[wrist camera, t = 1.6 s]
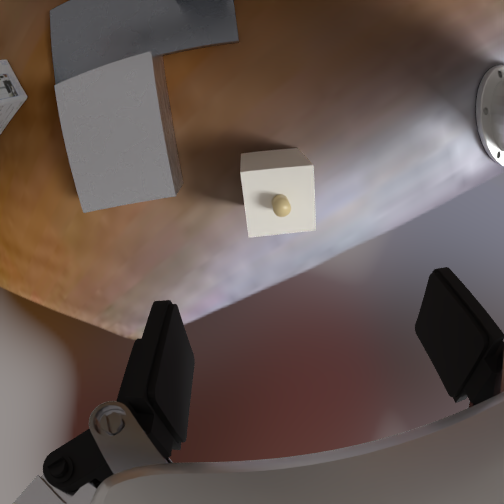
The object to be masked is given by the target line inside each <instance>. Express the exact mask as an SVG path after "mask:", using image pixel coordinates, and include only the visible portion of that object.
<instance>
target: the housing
mask: <svg viewBox="0 0 504 504" xmlns="http://www.w3.org/2000/svg"><path fill="white" fill-rule="evenodd" d="M240 174H241V182H242V190H243V197H244V205H245V213H246V220H247V228H248V236H249V238H250V237H259V236H268V235H278V234H287V233H296V232H306V231H315V230H316V223H315V188H314V165H313V164H312V163H311V162H310V161H309V160H308V159H307V158H306V156H305V155H304V154H303V153H302V152H301V151H300V150H299V149H298V148H291V149H279V150H268V151H259V152H249V153H241V164H240Z"/></svg>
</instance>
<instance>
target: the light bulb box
mask: <svg viewBox="0 0 504 504" xmlns="http://www.w3.org/2000/svg"><path fill="white" fill-rule="evenodd" d="M26 99H27V95H26V94H25V92H24V90H23V88H22V87H21V85H20V83H19V81H18V79H17V78H16V76H15V74H14V72H13V70H12V68H11V66H10V65H9V63H8V61H7V60H0V134H1V133H2V131H3V130H4V129H5V127H6V126H7V124H8V123H9V121H10V120H11V119H12V117H13V116H14V115H15V113H16V112H17V111H18V109H19V108H20V107H21V105H22V104H23V103H24V102H25V100H26Z"/></svg>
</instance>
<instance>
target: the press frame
mask: <svg viewBox="0 0 504 504" xmlns="http://www.w3.org/2000/svg"><path fill="white" fill-rule="evenodd" d="M50 28H51V45H52V57H53V67H54V75H55V83H56V85H54V86H55V93H56V100H57V106H58V112H59V117H60V122H61V128H62V132H63V137H64V142H65V146H66V151H67V155H68V159H69V163H70V167H71V171H72V175H73V178H74V182H75V186H76V189H77V193H78V196H79V200H80V203H81V206H82V209H83V213H85V212H90V211H95V210H100V209H105V208H110V207H116V206H121V205H126V204H132V203H137V202H143V201H149V200H155V199H161V198H167V197H173V196H176V195H177V193H178V192H179V190H180V188H181V187H182V185H183V178H182V173H181V167H180V162H179V157H178V151H177V145H176V140H175V134H174V128H173V122H172V116H171V110H170V104H169V97H168V90H167V84H166V77H165V70H164V62H163V56H164V55H169V54H173V53H178V52H182V51H187V50H193V49H198V48H204V47H210V46H217V45H224V44H231V43H239V39H238V31H237V23H236V16H235V8H234V1H233V0H70V1H67V2H65V3H63V4H61V5H59V6H58V7H56V8H54V9H52V10H50Z"/></svg>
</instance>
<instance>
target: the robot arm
mask: <svg viewBox="0 0 504 504" xmlns="http://www.w3.org/2000/svg"><path fill="white" fill-rule="evenodd" d="M476 119H477V126H478V132H479V135H480V138H481V142H482V144H483V146H484V148H485V150H486V152H487V153H488V155H489V156H490V157H491V158H492V159H493V160H494V161H495V162H496V163H498V164H500V165H501V166H504V65H497V66H494V67H492V68H491V69H489V70H488V71H487V72H486V74H485V75H484V76H483V78H482V80H481V82H480V86H479V89H478V93H477V100H476ZM415 331H416V334H417V336H418V338H419V339H420V341H421V343H422V345H423V347H424V348H425V350H426V352H427V354H428V356H429V357H430V359H431V361H432V363H433V365H434V367H435V369H436V371H437V372H438V374H439V376H440V378H441V380H442V382H443V384H444V386H445V388H446V390H447V392H448V394H449V395H450V396H451V397H453V399H454V401H455V402H456V403H457V402H459V401H462V400H464V399H466V398H467V397H468V398H469V400H470V402H469V406H468V408H467V409H465V410H463V411H461V412H459V413H456V414H453V415H451V416H448V417H446V418H444V419H441V420H438V421H436V422H433V423H430V424H427V425H424V426H422V427H419V428H416V429H413V430H410V431H406V432H404V433H400V434H397V435H393V436H390V437H386V438H383V439H379V440H375V441H372V442H367V443H364V444H360V445H355V446H350V447H346V448H341V449H336V450H331V451H325V452H320V453H314V454H307V455H300V456H293V457H285V458H276V459H266V460H252V461H236V462H198V463H172V462H171V460H170V459H169V458H168V457H170V456H171V451H172V449H174V450H180V449H181V442H185V441H186V437H187V427H188V416H189V407H190V398H191V388H192V379H193V372H194V355H193V352H192V349H191V346H190V343H189V340H188V337H187V334H186V331H185V328H184V325H183V322H182V319H181V316H180V313H179V309H178V306H177V305H176V304H172V302H171V301H170V300H166V301H155V302H154V303H153V305H152V308H151V311H150V314H149V317H148V320H147V323H146V326H145V329H144V333H143V336H142V339H137V340H136V341H135V343H134V346H133V348H132V352H131V355H130V358H129V361H128V364H127V367H126V371H125V374H124V377H123V381H122V384H121V387H120V391H119V394H118V398H117V401H109V402H105V403H103V404H100V405H99V406H98V407H96V408H95V410H94V411H93V412H92V413H91V416H90V419H89V428H90V429H88V430H87V431H85V432H83V433H82V434H80V435H79V436H77V437H76V438H74V439H72V440H71V441H69V442H68V443H66V444H64V445H63V446H61V447H60V448H58V449H56V450H55V451H53V452H51V453H50V454H49V455H48V456H47V458H46V459H45V461H44V464H43V473H44V474H43V475H42V476H41V477H40V476H39V475H37V477H36V478H35V479H34V480H33V481H32V483H30V485H29V486H28V487H27V488H26V489H25V491H23V493H22V494H21V495H20V496H19V497H18V498H17V500H16V501H15V502H14V503H13V504H504V342H503V339H504V334H503V333H502V331H501V330H500V329H499V327H498V326H497V325H496V323H495V322H494V321H493V319H492V318H491V317H490V316H489V314H488V313H487V312H486V311H485V309H484V308H483V307H482V306H481V304H480V303H479V302H478V301H477V300H476V298H475V297H474V296H473V295H472V294H471V292H470V291H469V290H468V289H467V288H466V287H465V285H464V284H463V283H462V282H461V281H460V280H459V279H458V278H457V276H456V275H455V274H454V273H453V272H452V271H451V270H450V269H449V268H447V267H445V268H439V269H435V270H434V271H433V273H432V274H431V275H430V276H429V280H428V284H427V287H426V291H425V295H424V298H423V302H422V305H421V309H420V312H419V315H418V319H417V321H416V324H415Z"/></svg>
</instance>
